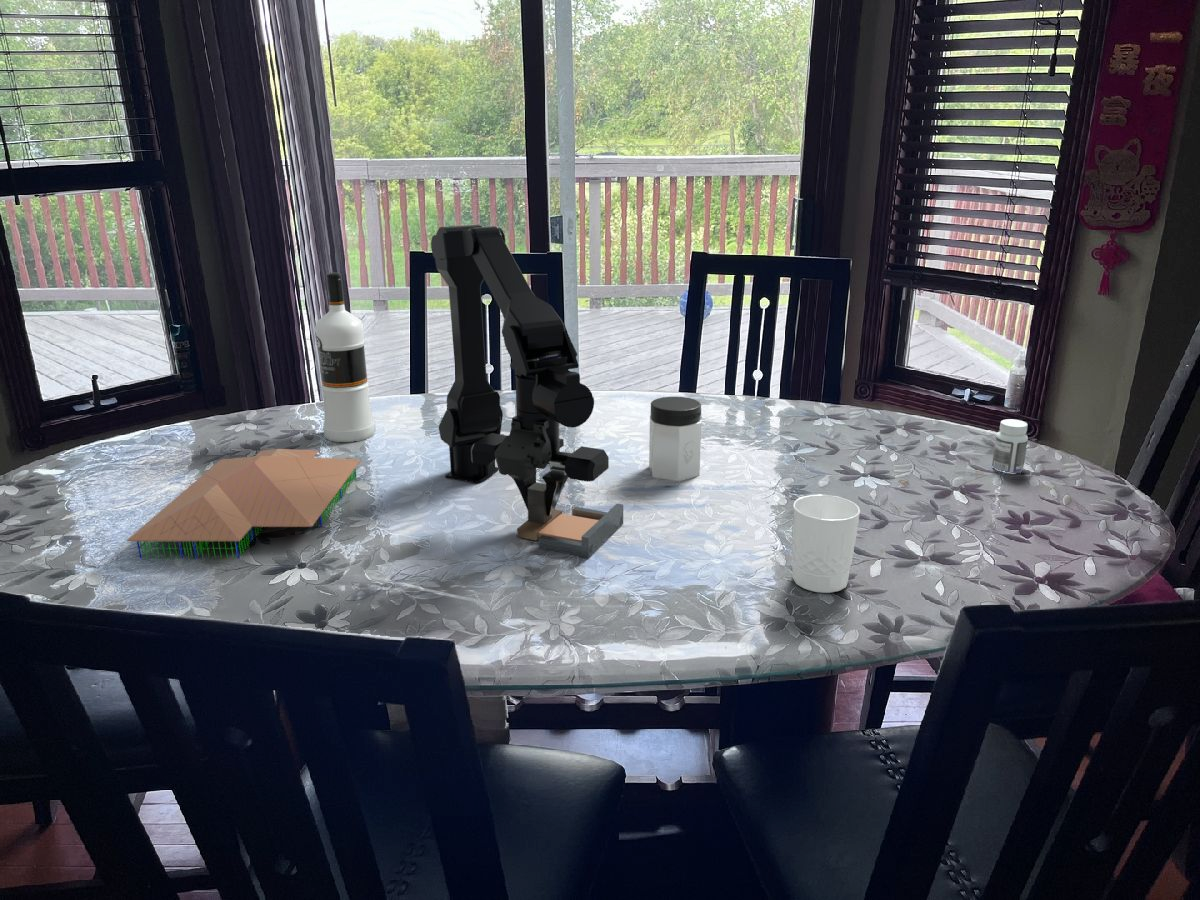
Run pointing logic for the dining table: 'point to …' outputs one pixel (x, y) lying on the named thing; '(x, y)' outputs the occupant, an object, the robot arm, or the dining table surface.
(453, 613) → the dining table surface
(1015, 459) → the pill bottle
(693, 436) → the jar
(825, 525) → the white cup
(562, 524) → the tile
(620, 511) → the grey u-shaped frame
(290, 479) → the house
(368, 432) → the vodka
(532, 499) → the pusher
